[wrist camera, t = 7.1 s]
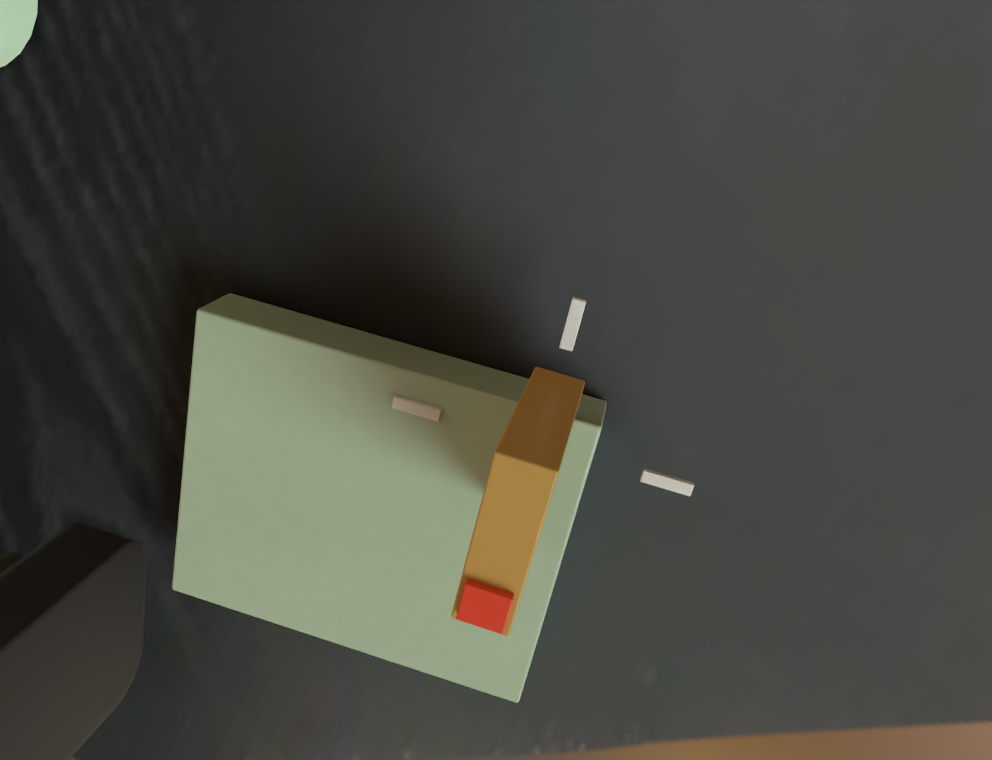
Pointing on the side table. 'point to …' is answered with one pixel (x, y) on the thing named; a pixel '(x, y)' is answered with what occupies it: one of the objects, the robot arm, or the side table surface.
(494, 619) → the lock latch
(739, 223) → the side table surface
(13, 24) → the candle
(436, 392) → the plate
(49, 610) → the robot arm
